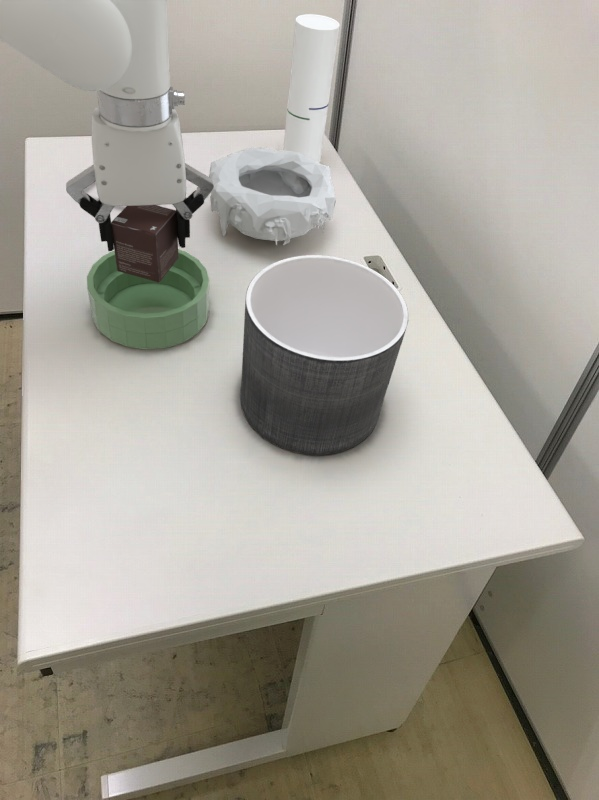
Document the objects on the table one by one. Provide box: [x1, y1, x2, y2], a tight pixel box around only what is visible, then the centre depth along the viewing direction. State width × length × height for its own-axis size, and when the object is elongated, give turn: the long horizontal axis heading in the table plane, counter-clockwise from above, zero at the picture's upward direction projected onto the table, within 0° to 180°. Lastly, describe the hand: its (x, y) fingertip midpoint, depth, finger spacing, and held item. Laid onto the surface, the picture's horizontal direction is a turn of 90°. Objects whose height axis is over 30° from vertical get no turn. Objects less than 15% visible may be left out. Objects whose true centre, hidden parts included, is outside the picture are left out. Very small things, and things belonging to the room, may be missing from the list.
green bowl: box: [86, 248, 210, 350], centre depth 87 cm, size 16×16×6 cm
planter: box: [239, 254, 409, 456], centre depth 75 cm, size 18×18×16 cm
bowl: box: [208, 146, 337, 246], centre depth 103 cm, size 21×20×10 cm
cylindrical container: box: [282, 13, 341, 164], centre depth 112 cm, size 7×7×25 cm
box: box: [111, 205, 179, 283], centre depth 80 cm, size 6×6×7 cm
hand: (146, 242), depth 80 cm, fingers closed on box, 8 cm apart
